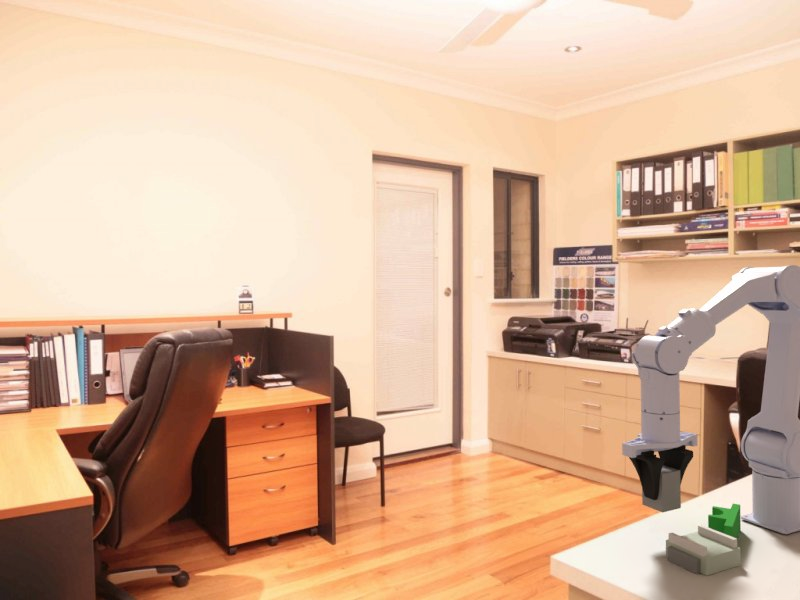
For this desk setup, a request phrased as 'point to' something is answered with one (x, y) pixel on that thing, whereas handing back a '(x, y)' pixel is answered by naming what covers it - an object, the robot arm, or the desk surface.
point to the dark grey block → (666, 491)
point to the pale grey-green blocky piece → (703, 551)
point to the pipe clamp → (726, 520)
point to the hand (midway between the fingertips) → (661, 495)
